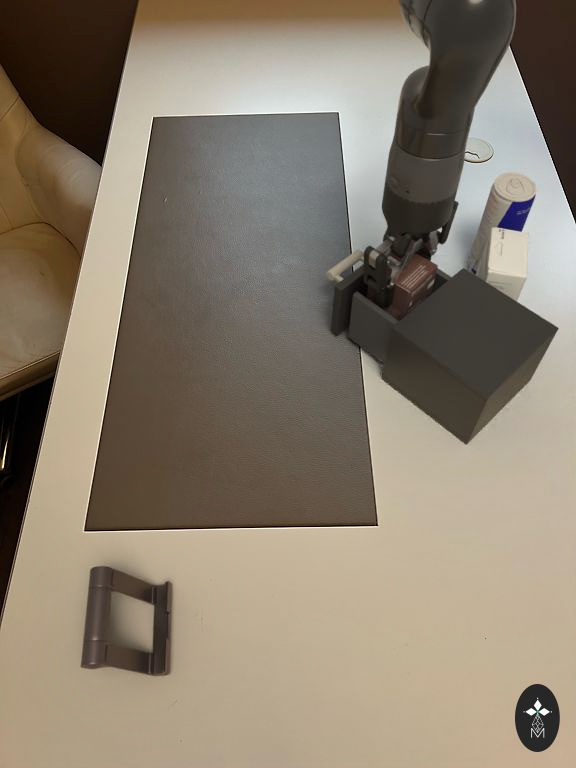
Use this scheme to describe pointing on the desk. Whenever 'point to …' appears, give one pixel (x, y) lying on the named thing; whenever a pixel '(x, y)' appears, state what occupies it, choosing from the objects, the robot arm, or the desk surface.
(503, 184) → the beverage can
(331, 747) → the desk surface
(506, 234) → the ink box
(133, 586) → the tablet stand
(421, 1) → the robot arm
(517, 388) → the cabinet
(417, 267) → the box
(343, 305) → the drawer
